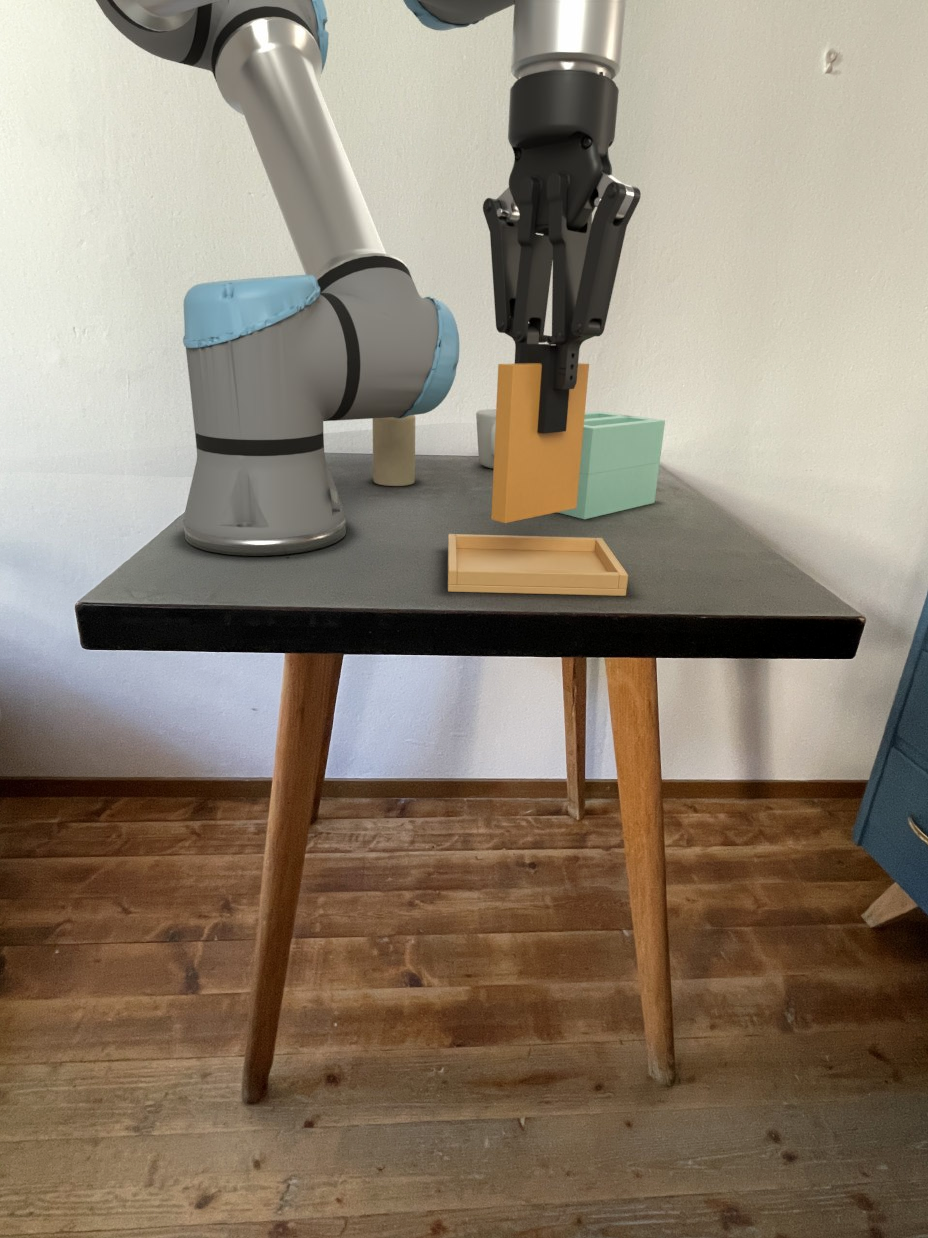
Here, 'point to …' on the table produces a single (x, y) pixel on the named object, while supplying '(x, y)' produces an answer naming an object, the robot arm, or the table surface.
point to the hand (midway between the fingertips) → (541, 429)
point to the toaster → (617, 463)
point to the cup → (486, 436)
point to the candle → (394, 451)
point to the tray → (533, 565)
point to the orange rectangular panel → (534, 447)
